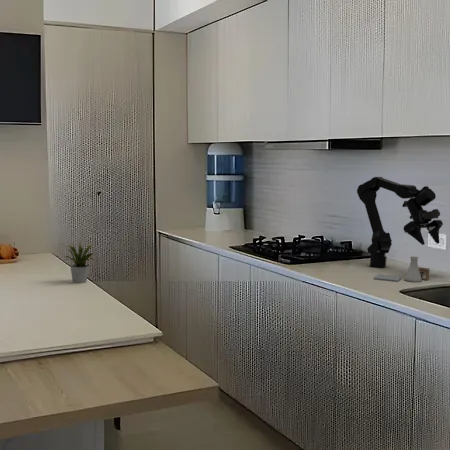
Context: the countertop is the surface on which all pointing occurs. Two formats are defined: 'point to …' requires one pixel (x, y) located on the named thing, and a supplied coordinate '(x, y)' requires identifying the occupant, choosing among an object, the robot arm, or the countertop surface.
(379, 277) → the grey coaster
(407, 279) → the flask
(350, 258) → the countertop surface
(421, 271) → the letter cube
